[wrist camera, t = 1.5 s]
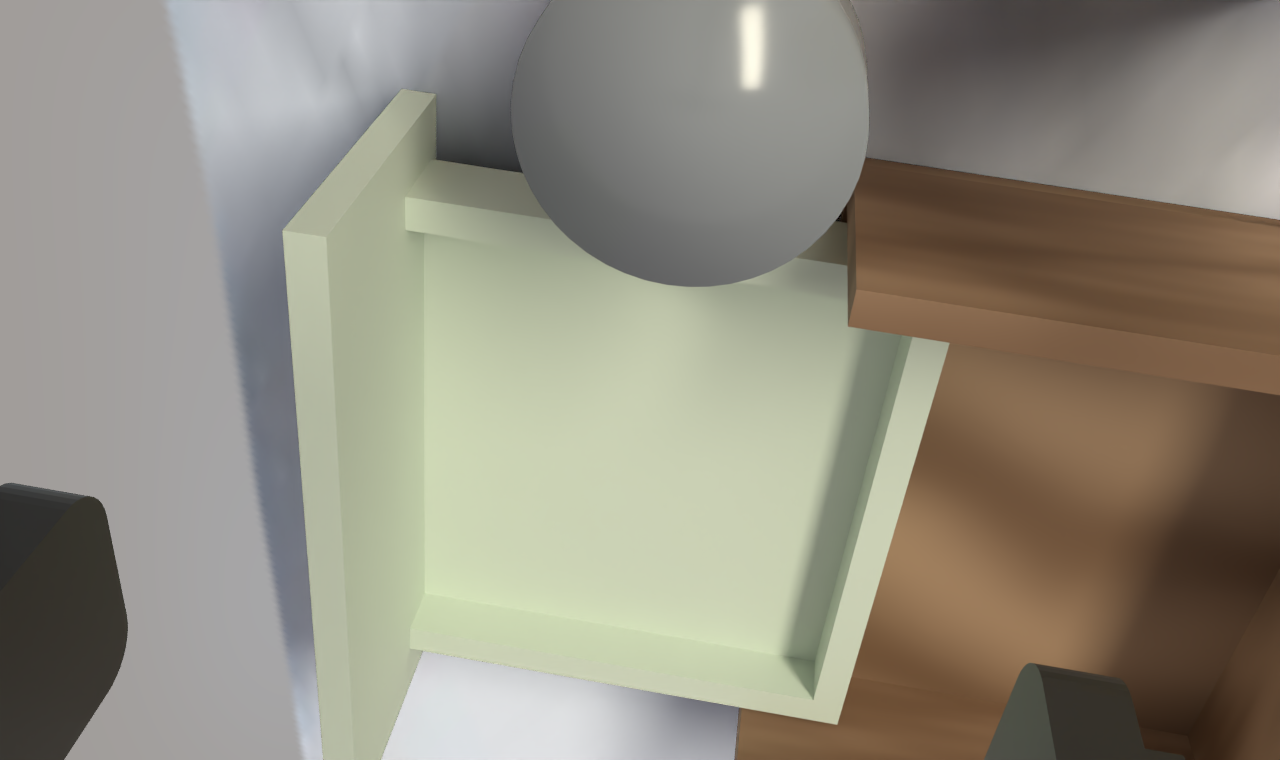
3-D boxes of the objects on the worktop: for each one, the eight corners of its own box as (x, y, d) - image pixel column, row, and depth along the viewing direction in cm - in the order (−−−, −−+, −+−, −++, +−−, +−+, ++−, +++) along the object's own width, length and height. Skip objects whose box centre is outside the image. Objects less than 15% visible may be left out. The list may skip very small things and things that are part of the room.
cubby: (853, 156, 27) (856, 289, 22) (1483, 251, 26) (1634, 411, 21) (743, 666, 36) (727, 840, 31) (1202, 747, 35) (1259, 938, 30)
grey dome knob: (549, -115, 21) (518, -80, 19) (900, -66, 20) (906, -26, 18) (532, 202, 24) (504, 258, 22) (832, 248, 24) (830, 310, 22)
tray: (401, 88, 27) (282, 230, 21) (973, 175, 26) (1010, 345, 21) (408, 617, 37) (327, 813, 31) (828, 691, 36) (825, 907, 30)
